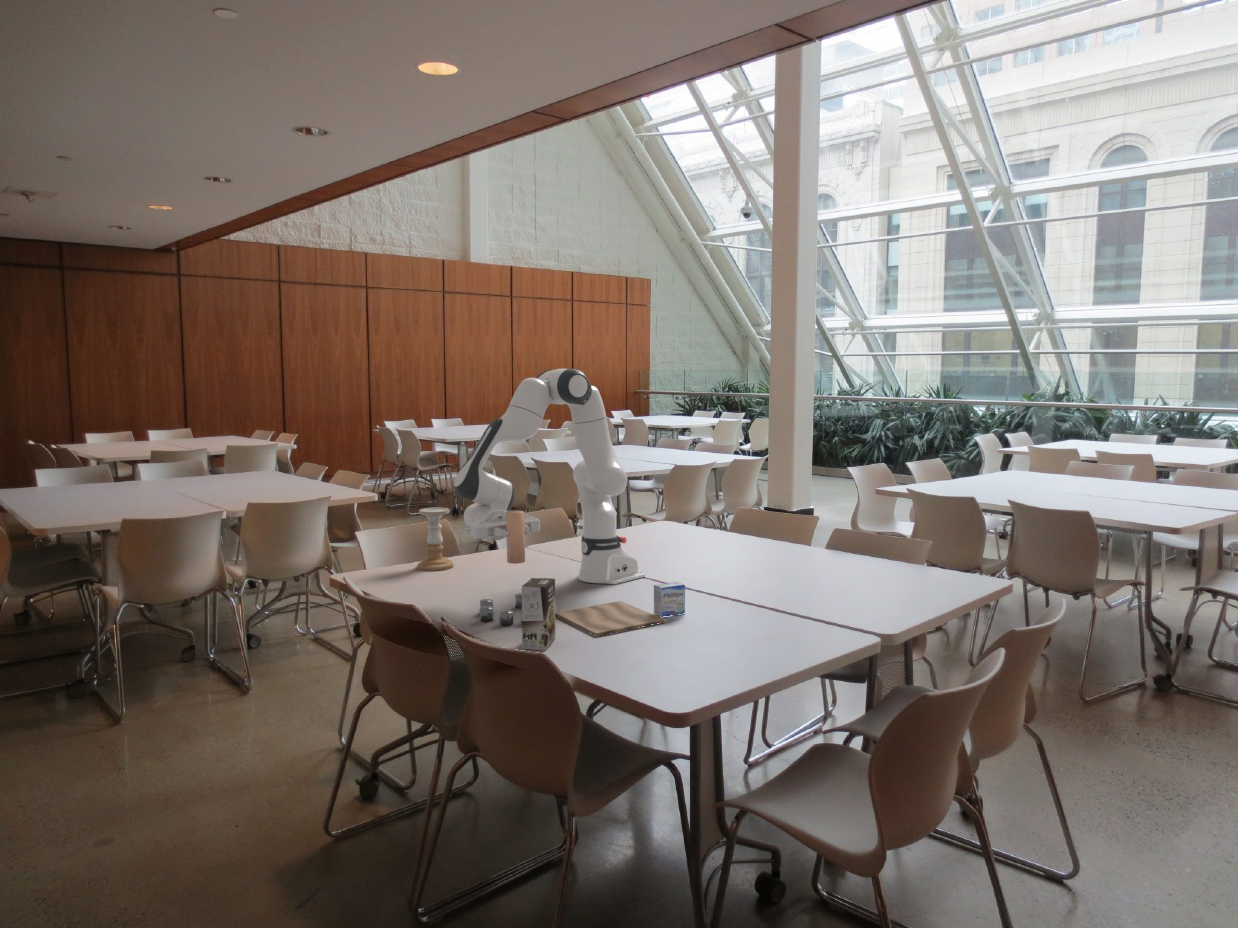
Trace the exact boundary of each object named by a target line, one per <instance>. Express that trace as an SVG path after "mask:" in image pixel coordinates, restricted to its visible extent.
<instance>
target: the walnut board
mask: <svg viewBox="0 0 1238 928" xmlns="http://www.w3.org/2000/svg"><path fill="white" fill-rule="evenodd" d="M555 618H557V619H559V620H562V621H563V622H566V623H568V624H569V625H571V624H572V625H571V626H573V627H575V626H576V627H575V628H577V627H578V628H577V629H578V630H579V629H580V630H581V629H582V630H581V631H583V630H584V631H583V632H585V631H586V632H585V633H587V632H588V633H587V634H589V633H591V634H592V635H591V634H590V635H591V636H593V635H595V636H599V637H603V636H602V635H604V636H608V635H607V634H609V635H611V634H610V633H614V634H617V633H616V632H619V633H622V632H621V631H624V632H626V631H625V630H629V631H632V630H631V629H634V630H637V629H636V628H638V627H642V626H648V627H650V626H649V625H651V624H657V623H663V622H665V623H666V619H665V618H661V617H659V616H657V615H655V614H654V613H650V612H648V611H646V610H644V609H640V608H639V607H636V606H633V605H632V604H629V603H626V602H624V601H622V600H618V601H612V602H608V603H602V604H596V605H595V604H594V605H590V606H584V607H579V608H574V609H568V610H561V611H557V612H556V611H555ZM663 624H664V623H663ZM638 629H639V628H638ZM595 636H594V637H595Z"/></svg>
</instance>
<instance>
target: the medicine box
mask: <svg viewBox="0 0 1238 928" xmlns="http://www.w3.org/2000/svg"><path fill="white" fill-rule="evenodd" d="M654 613H655V614H656V615H655V614H654ZM683 613H686V585H685V584H684V583H681V582H679V581H675V582H668V583H660V584H654V585H653V614H654V615H655V616H657V615H658V617H659V616H661V617H663V616H670V615H677V616H679V615H678V614H683ZM683 615H684V614H683ZM661 617H660V618H661Z"/></svg>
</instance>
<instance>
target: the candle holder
mask: <svg viewBox="0 0 1238 928" xmlns="http://www.w3.org/2000/svg"><path fill="white" fill-rule="evenodd" d="M449 513H450V508H447V507H440V506H439V507H435V506H434V507H425V508H421V509H419V510H418V514H419V515H422V516H426V518H427V519H428V521H429V522H428V524H427V525H426V526H427V527H426V528H427V529H428V533H427V534H428V535H427V538H426V542H427V543H428V545H427V546H426V550H427V551H428V556H427V557H426V558H424V559H422V560H421V561H419V562H417V564H416V565H417V566H416V567H417V569H418V570H421V569H422V570H421V571H425V572H427V571H430V572H433V571H434V572H435V571H436V572H437V571H444V570H449V569H452V568H453V567H454V561H452V560H451V559H449V558H448V557H445V556H444V557H443V552H442V551H443V549H444V548H445V547H444V546H443V544H442V543H443V542H444V538H443V535H442V531H441V529H442V527H443V525H442V524H441V522H440V520H441V518H442V517H443V515H447V514H449Z"/></svg>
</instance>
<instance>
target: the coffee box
mask: <svg viewBox="0 0 1238 928" xmlns="http://www.w3.org/2000/svg"><path fill="white" fill-rule="evenodd" d="M521 593H522V608H521V649H522V650H534V651H544V650H545V651H547V649H548V648H549V647H550V646H551V645H552V644H553V643H554V642H555V641H556V617H555V613H556V578H552V577H551V578H549V577H548V578H547V577H542V578H541V577H540V578H538V577H531V578H530V579H529V580H528V581H526V582H525V583H524V584H523V585H522V586H521Z"/></svg>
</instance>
